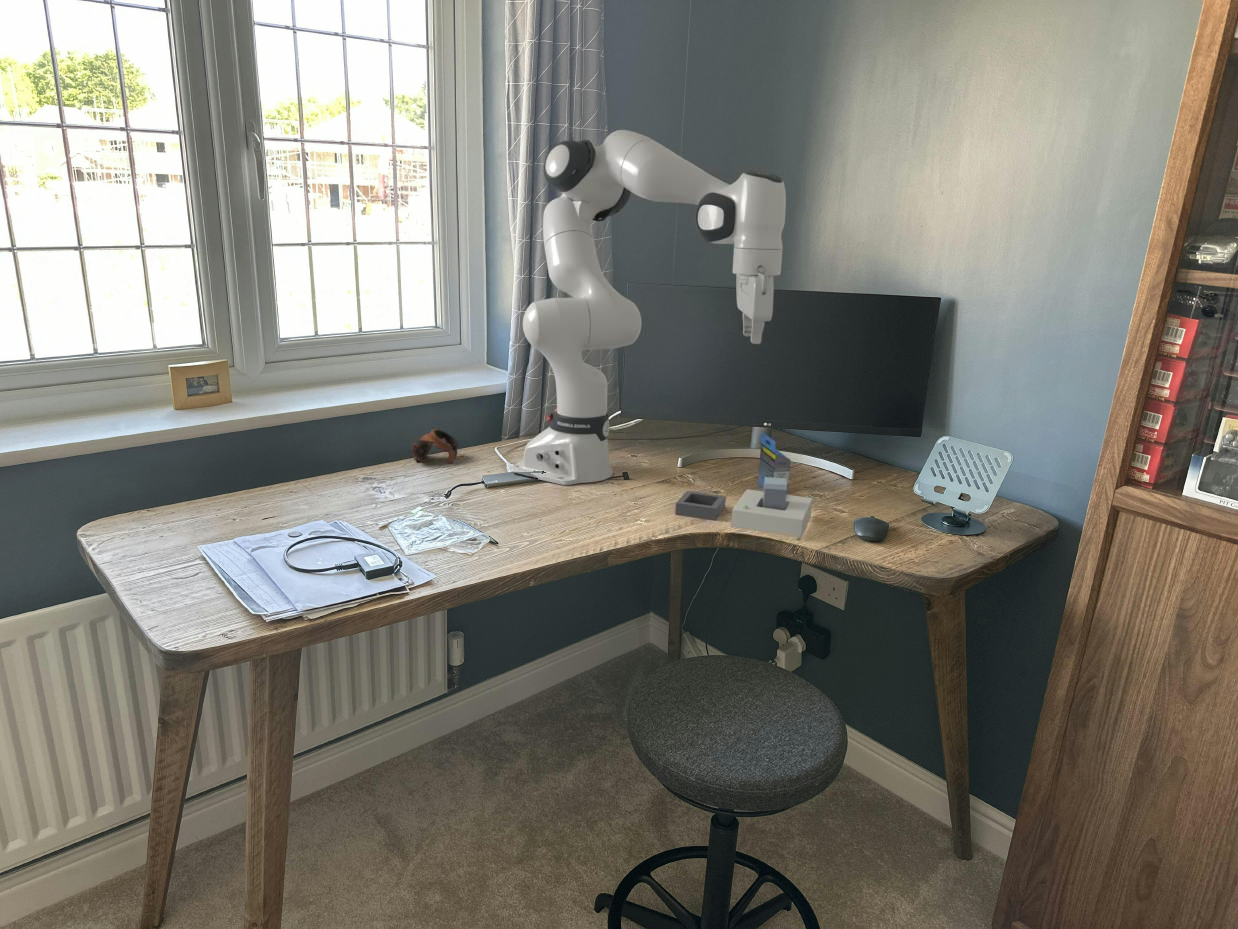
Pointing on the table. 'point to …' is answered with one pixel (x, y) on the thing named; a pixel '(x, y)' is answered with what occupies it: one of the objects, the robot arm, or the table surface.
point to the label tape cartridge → (772, 462)
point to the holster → (700, 505)
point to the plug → (774, 493)
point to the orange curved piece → (435, 436)
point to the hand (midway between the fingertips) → (751, 339)
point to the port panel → (772, 515)
